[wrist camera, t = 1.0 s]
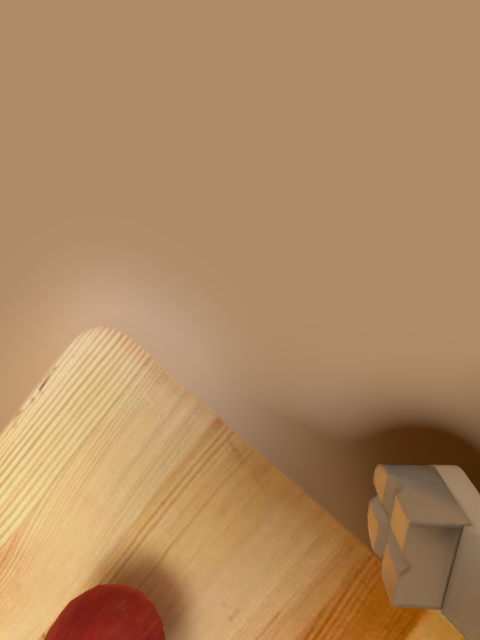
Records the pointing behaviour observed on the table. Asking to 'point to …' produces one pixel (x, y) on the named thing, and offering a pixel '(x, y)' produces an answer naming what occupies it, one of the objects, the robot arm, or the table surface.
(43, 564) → the table surface
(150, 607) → the onion
